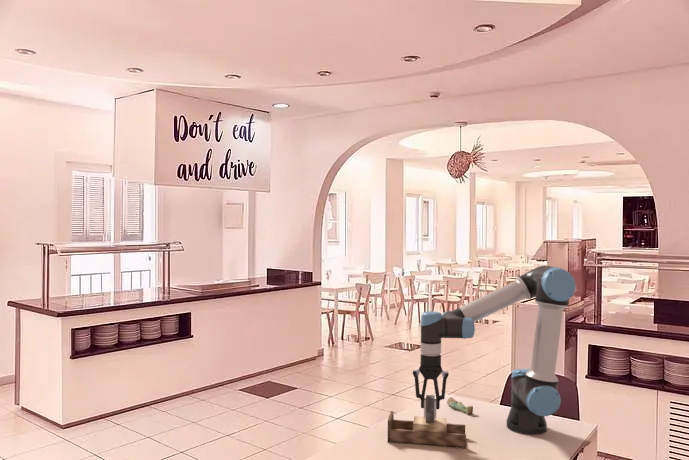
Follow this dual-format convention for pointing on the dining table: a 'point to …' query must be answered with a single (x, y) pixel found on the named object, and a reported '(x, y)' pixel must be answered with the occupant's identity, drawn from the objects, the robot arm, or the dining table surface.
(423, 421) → the block with handle
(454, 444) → the bay
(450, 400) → the figurine
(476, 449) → the dining table surface
